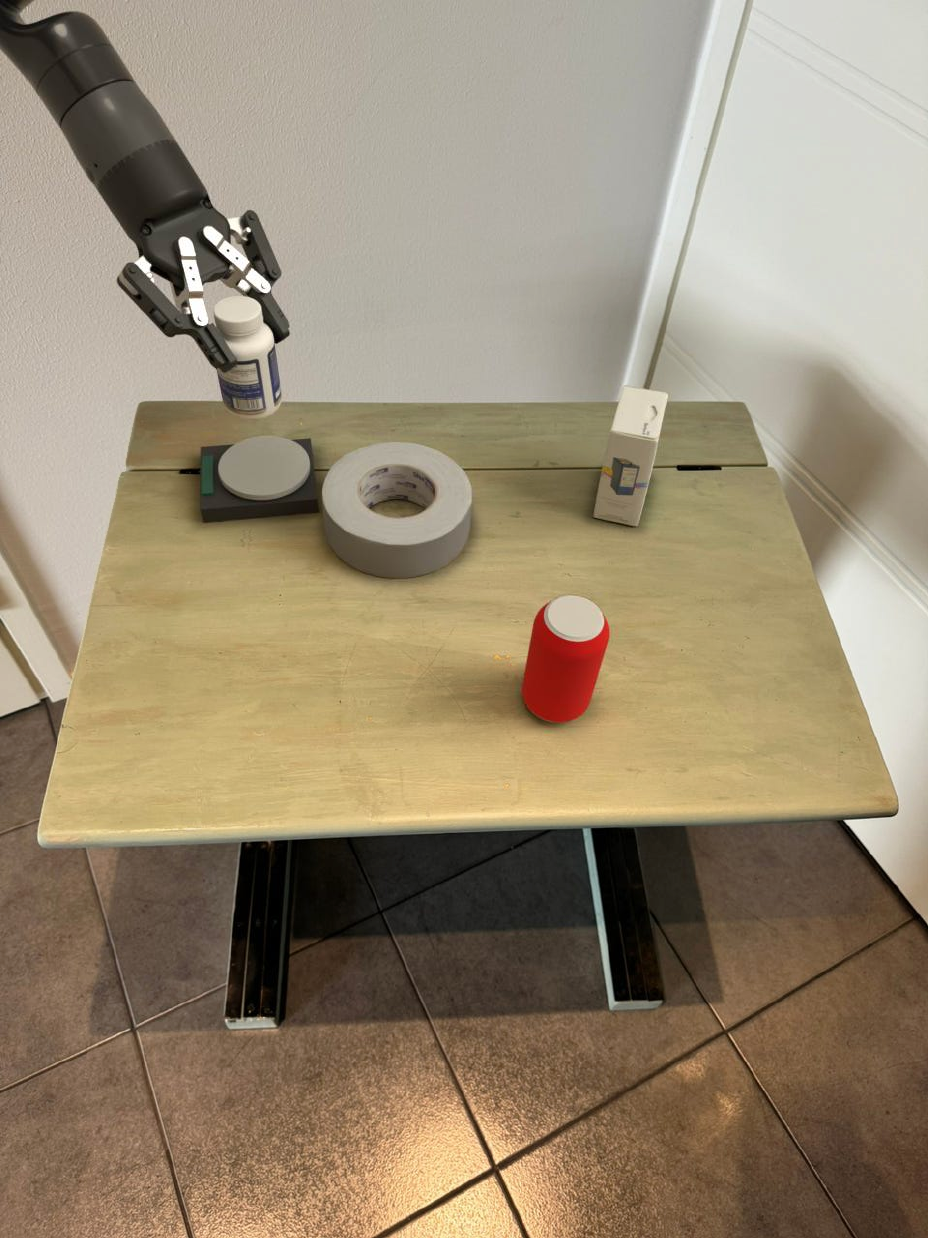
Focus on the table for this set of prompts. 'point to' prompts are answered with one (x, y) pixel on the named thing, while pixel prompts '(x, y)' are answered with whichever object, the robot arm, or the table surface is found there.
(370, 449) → the tape roll
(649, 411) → the ink box
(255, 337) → the pill bottle
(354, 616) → the table surface
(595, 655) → the beverage can
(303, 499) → the scale
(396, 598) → the table surface
